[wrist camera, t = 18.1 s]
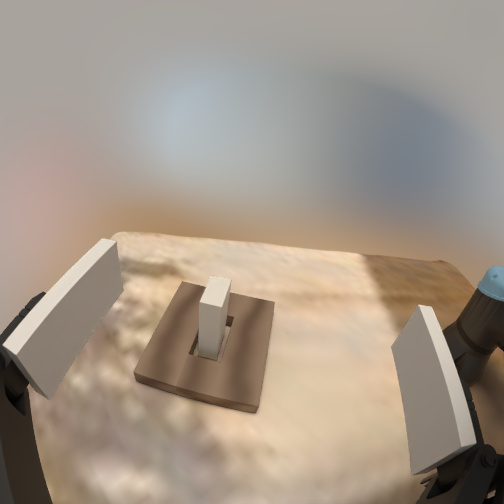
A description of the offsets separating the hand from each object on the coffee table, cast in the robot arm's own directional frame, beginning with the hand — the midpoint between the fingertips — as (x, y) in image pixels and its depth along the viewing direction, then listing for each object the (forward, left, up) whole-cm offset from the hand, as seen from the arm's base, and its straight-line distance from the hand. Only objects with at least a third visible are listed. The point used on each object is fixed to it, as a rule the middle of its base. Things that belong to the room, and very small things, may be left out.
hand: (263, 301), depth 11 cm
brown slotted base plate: (+6, -21, -30) cm, 37 cm away
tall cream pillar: (+6, -21, -30) cm, 37 cm away
